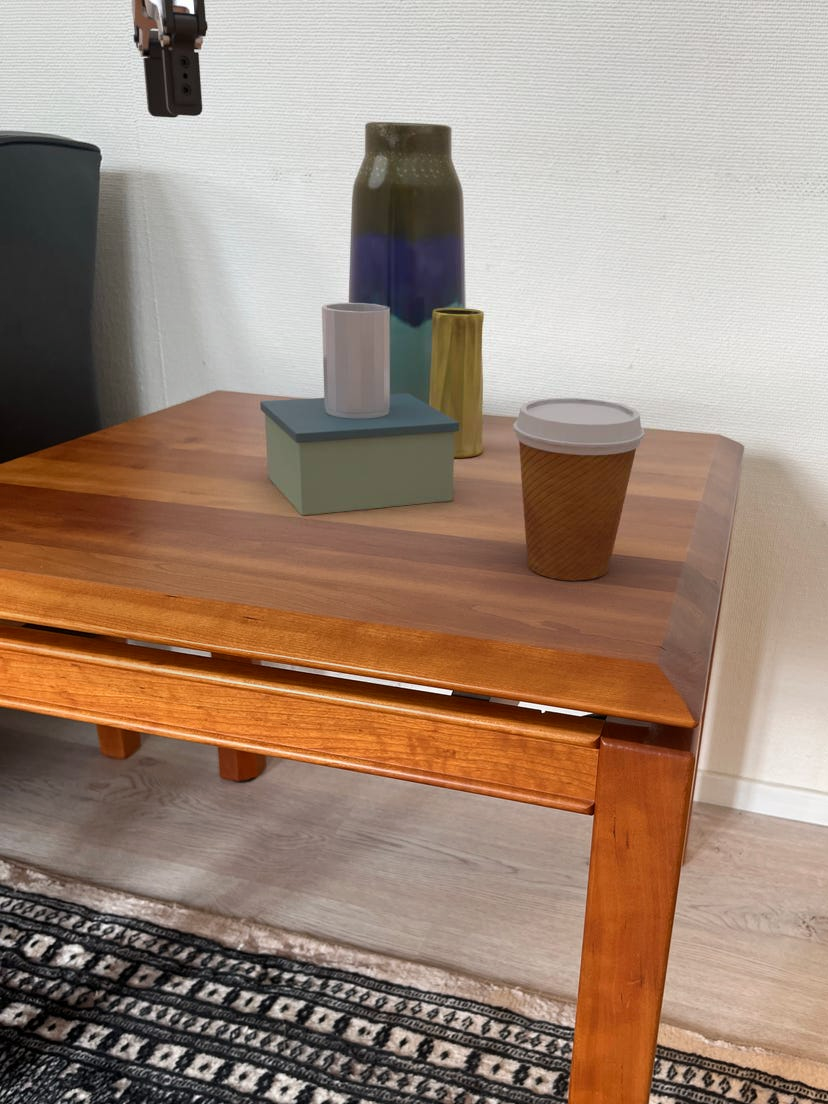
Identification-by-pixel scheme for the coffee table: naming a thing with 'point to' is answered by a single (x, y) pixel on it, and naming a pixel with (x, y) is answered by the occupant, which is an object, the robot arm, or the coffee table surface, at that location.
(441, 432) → the container
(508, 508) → the coffee table surface
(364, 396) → the cup
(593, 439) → the disposable coffee cup
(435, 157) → the vase
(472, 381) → the vase
